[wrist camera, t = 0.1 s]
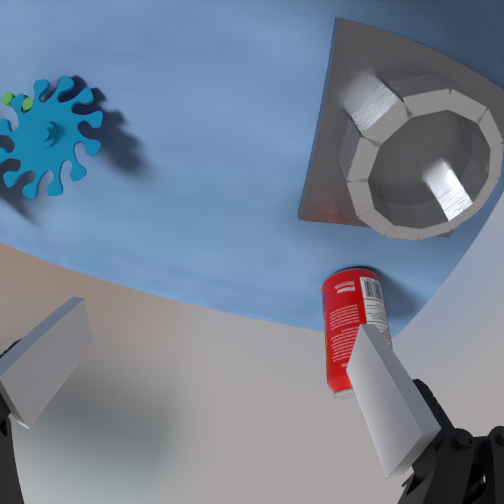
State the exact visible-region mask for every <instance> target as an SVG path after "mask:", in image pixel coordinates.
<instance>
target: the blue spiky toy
mask: <svg viewBox="0 0 504 504" xmlns="http://www.w3.org/2000/svg"><path fill="white" fill-rule="evenodd" d="M49 86H50V84H49V82H48V80H37V81H36V82H35V84H34V91H35V98H34V100H33V99H32V98H30V97H28V96H26V95H23V94H19V95H17V96H15V95H13V94H12V93H11V92H7V93H5V94H4V95H3V97H2V102H3V103H4V104H5V105H7V106H8V107H12V108H14V110H15V112H16V113H17V115H18V120H19V126H18V128H17V129H16V130H15V131H14V132H12V130H11V123H10V121H9V120H7V119H2V120H1V121H0V135H7V136H9V137H10V138H11V139H12V140H13V141H14V143H15V148H14V150H13V151H12V152H11V153H9V152H8V151H7V149H6V148H2V147H0V164H1V163H4V162H5V161H6V160H8V159H11V158H15V159H18V160H20V162H21V167H20V169H19V170H18V171H17V172H16V171H7V172H6V173H5V174H4V175H3V179H4V182H5V184H6V186H7V187H8V188H9V187H13V186H15V185H16V183H17V181H18V180H19V178H20V177H21V176H22V175H23V174H24V173H26V172H28V171H30V170H33V171H34V173H35V179H34V181H33V182H32V183H29V184H27V185H25V186H24V188H23V190H22V193H23V195H24V196H25V197H27V198H29V199H31V200H32V199H34V198H36V196H37V194H38V187H39V183H40V181H41V179H42V177H43V176H44V175H45V174H46V172H47V171H49V170H50V171H52V172H53V173H54V179H53V181H52V182H51V183H50V185H49V186H48V188H47V194H48V195H49V196H58V195H61V194H62V193H63V186H62V183H61V180H60V172H61V168H62V165H63V163H64V162H65V161H66V160H70V161H71V162H72V170H71V174H70V176H71V179H72V181H74V182H75V181H78V180H80V179H81V178H83V177H84V176H85V175H86V174H87V172H86V169H85V168H84V167H83V166H81V165H80V164H79V163H78V161H77V159H76V156H75V151H74V148H75V145H76V144H77V143H79V142H83V143H84V144H85V148H86V152H87V154H88V155H89V156H92V157H94V156H95V155H96V154H97V153H98V151H99V149H100V147H101V143H100V142H99V141H98V140H91V139H87V138H85V137H84V136H82V135H81V134H80V132H79V131H78V126H79V124H80V123H82V122H88V123H89V124H90V125H91V126H92V127H93V128H100V127H101V125H102V120H103V113H102V112H100V111H96V112H94V113H91V114H88V115H78V114H74V113H73V112H72V109H73V107H74V106H75V105H76V104H83V105H89V104H91V103H92V102H93V94H92V92H91V90H90V88H85V89H83V90H82V91H81V92H80V93H79V94H78V95H77V96H76V97H75V98H73V99H72V100H69V101H67V102H63V103H60V102H59V97H60V96H61V95H62V94H64V93H67V92H70V91H71V90H72V89H73V88H74V86H75V84H74V82H73V80H72V79H70V78H69V77H66V76H64V77H63V78H61V80H60V82H59V85H58V88H57V90H56V91H55V93H54V94H53V95H52V96H51V97H50V98H49V99H48V100H47V101H46V102H44V103H42V102H41V97H42V96H43V95H44V94H45V93H46V92H47V91H48V89H49Z"/></svg>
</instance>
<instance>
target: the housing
mask: <svg viewBox="0 0 504 504" xmlns="http://www.w3.org/2000/svg"><path fill="white" fill-rule="evenodd" d="M503 147H504V90H503V89H502V88H500V87H499V86H497V85H496V84H494V83H493V82H491V81H490V80H488V79H487V78H485V77H484V76H482V75H480V74H479V73H477V72H475V71H474V70H472V69H470V68H468V67H467V66H465V65H463V64H461V63H459V62H458V61H456V60H454V59H452V58H450V57H448V56H446V55H444V54H442V53H440V52H438V51H435V50H433V49H431V48H429V47H427V46H424V45H422V44H420V43H417V42H415V41H412V40H410V39H407V38H404V37H402V36H399V35H396V34H393V33H391V32H388V31H385V30H382V29H378V28H375V27H372V26H368V25H365V24H361V23H358V22H354V21H350V20H346V19H341V18H337V17H336V18H335V25H334V31H333V38H332V44H331V50H330V56H329V62H328V68H327V74H326V80H325V85H324V91H323V96H322V102H321V107H320V112H319V117H318V122H317V127H316V132H315V137H314V142H313V147H312V152H311V157H310V162H309V166H308V171H307V175H306V180H305V185H304V189H303V194H302V198H301V202H300V207H299V211H298V216H299V220H305V221H315V222H326V223H336V224H345V225H354V226H363V227H371V228H373V229H374V230H375V231H377V232H378V233H379V234H381V235H382V236H384V235H385V237H390V238H399V239H408V240H417V239H418V240H422V239H425V238H429V237H432V236H441V237H448V238H449V236H450V235H451V234H452V232H453V231H454V229H455V228H456V227H458V226H459V225H460V224H462V223H463V222H465V221H466V220H467V219H469V218H470V217H471V216H473V215H474V214H475V213H477V212H478V211H479V208H482V207H483V205H484V204H485V202H486V200H487V199H488V197H489V196H490V194H491V192H492V191H493V189H494V188H495V186H496V184H497V183H498V181H499V179H498V178H500V174H501V166H502V157H503Z"/></svg>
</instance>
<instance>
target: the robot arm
mask: <svg viewBox="0 0 504 504" xmlns="http://www.w3.org/2000/svg"><path fill="white" fill-rule="evenodd" d="M93 345H94V342H93V338H92V334H91V329H90V325H89V320H88V315H87V310H86V304H85V299H83V298H78V297H72V298H71V299H69V300H68V301H67V302H65V303H64V304H63V305H62V306H60V307H59V308H58V309H57V310H56V311H54V312H53V313H52V314H51V315H49V316H48V317H47V318H46V319H45V320H44V321H43V322H41V323H40V324H39V325H38V326H36V327H35V328H34V329H33V330H32V331H31V332H30V333H28V334H27V335H26V336H25V337H24V338H22V339H20V340H18V341H16V342H14V343H13V344H12V345H11V346H10V347H9V348H8V350H6V351H4V352H3V354H1V355H0V504H24V501H23V497H22V492H21V488H20V484H19V479H18V474H17V469H16V463H15V457H14V449H13V441H12V431H11V421H10V418H9V417H8V415H9V414H10V413H12V415H13V416H14V418H15V419H16V421H17V422H18V423H20V424H21V425H23V426H25V427H26V428H28V429H30V427H31V426H32V425H33V423H34V422H35V420H36V419H37V418H38V416H39V415H40V413H41V412H42V411H43V409H44V408H45V407H46V405H47V404H48V403H49V401H50V400H51V399H52V397H53V396H54V395H55V393H56V392H57V391H58V389H59V388H60V387H61V385H62V384H63V382H65V380H66V379H67V378H68V376H69V375H70V374H71V372H72V371H73V370H74V369H75V368H76V366H77V365H78V364H79V363H80V361H81V360H82V359H83V358H84V356H85V355H86V354H87V353H88V351H89V350H90V349H91V348H92V347H93ZM346 371H347V374H348V376H349V379H350V381H351V384H352V386H353V389H354V391H355V394H356V397H357V399H358V402H359V404H360V407H361V410H362V412H363V415H364V418H365V420H366V423H367V426H368V429H369V431H370V434H371V437H372V439H373V442H374V445H375V448H376V451H377V454H378V457H379V459H380V462H381V465H382V468H383V471H384V474H385V477H386V479H387V478H391V477H395V476H399V475H402V474H404V473H405V472H406V471H407V470H408V469H409V468H410V467H411V466H412V468H413V470H414V473H413V474H412V475H411V476H410V477H409V478H408V479H407V480H406V481H405V482H404V483H403V484H402V487H404V486H405V485H406V484H407V486H406V488H405V490H404V492H403V494H402V496H401V498H400V500H399V502H398V504H504V427H503V426H497V427H495V428H493V429H492V430H491V432H490V433H489V434H488V435H487V436H481V437H473V436H472V435H471V434H470V433H469V432H468V431H466V430H464V429H459V428H456V429H455V428H454V427H453V425H452V423H451V422H450V420H449V419H448V417H447V415H446V414H445V412H444V411H443V409H442V407H441V406H440V404H439V403H438V401H437V400H436V398H435V397H433V393H432V392H431V390H430V389H429V387H428V386H427V385H426V384H424V383H423V382H422V381H421V380H419V379H415V380H412V379H411V378H410V376H409V375H408V373H407V371H406V370H405V368H404V367H403V365H402V364H401V362H400V361H399V359H398V358H397V356H396V355H395V353H394V352H393V350H392V349H391V347H390V346H389V344H388V343H387V341H386V340H385V338H384V337H383V335H382V334H381V332H380V331H379V330H378V328H377V327H376V325H375V324H360V326H359V330H358V334H357V337H356V340H355V344H354V347H353V350H352V354H351V357H350V360H349V363H348V366H347V369H346ZM484 476H485V483H484V480H483V477H484Z"/></svg>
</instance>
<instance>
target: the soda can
mask: <svg viewBox="0 0 504 504" xmlns="http://www.w3.org/2000/svg"><path fill="white" fill-rule="evenodd" d="M322 303H323V316H324V330H325V347H326V369H327V384H328V386H329V387H330V388H331V389H332V391H333V392H334V395H333V396H334V398H340V399H346V398H347V399H348V398H357V397H356V394H355V391H354V389H353V386H352V384H351V381H350V379H349V376H348V374H347V371H346V369H347V366H348V363H349V360H350V357H351V354H352V350H353V347H354V344H355V340H356V337H357V334H358V330H359V326H360V324H375V325H376V327H377V328H378V330H379V331H380V332H381V334H382V335H383V337H384V338H385V340H386V341H387V343H388V344H389V346H390V347H391V349H392V343H391V336H390V330H389V324H388V318H387V312H386V307H385V302H384V297H383V292H382V287H381V283H380V279H379V277H378V275H377V274H376V273H374V272H373V271H371V270H368V269H363V268H351V269H345V270H342V271H340V272H337V273H335V274H333V275H332V276H330V277H329V278H328V279H327V280H326V281H325V282H324V283H323V285H322ZM392 350H393V349H392Z"/></svg>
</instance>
